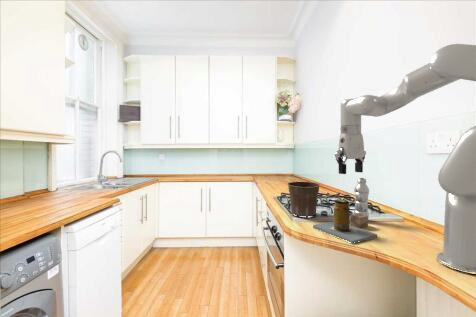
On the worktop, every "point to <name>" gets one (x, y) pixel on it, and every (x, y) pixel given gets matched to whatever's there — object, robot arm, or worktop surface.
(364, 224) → the walnut block
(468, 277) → the worktop surface
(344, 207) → the condiment
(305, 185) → the plant pot
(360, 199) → the plastic bottle
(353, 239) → the slate board
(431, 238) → the worktop surface
